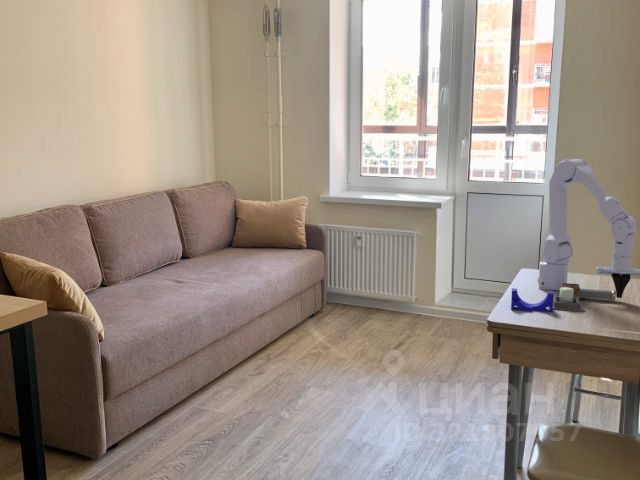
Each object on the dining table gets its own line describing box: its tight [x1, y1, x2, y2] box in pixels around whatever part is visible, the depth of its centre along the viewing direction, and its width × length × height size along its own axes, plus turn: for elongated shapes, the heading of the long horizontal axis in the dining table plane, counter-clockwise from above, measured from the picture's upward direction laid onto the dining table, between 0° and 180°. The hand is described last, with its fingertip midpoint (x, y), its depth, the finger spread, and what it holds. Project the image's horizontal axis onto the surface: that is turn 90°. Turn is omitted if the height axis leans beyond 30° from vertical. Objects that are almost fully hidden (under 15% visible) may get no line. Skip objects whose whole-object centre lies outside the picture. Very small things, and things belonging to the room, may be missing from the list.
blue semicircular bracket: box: [510, 287, 555, 313], centre depth 203 cm, size 12×4×6 cm, turn 74°
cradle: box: [548, 295, 585, 313], centre depth 208 cm, size 10×10×2 cm
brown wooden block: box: [562, 282, 581, 301], centre depth 216 cm, size 5×6×4 cm
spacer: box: [559, 287, 574, 303], centre depth 207 cm, size 4×4×5 cm
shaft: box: [580, 288, 617, 301], centre depth 215 cm, size 14×3×3 cm, turn 74°
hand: (618, 297), depth 212 cm, fingers closed
